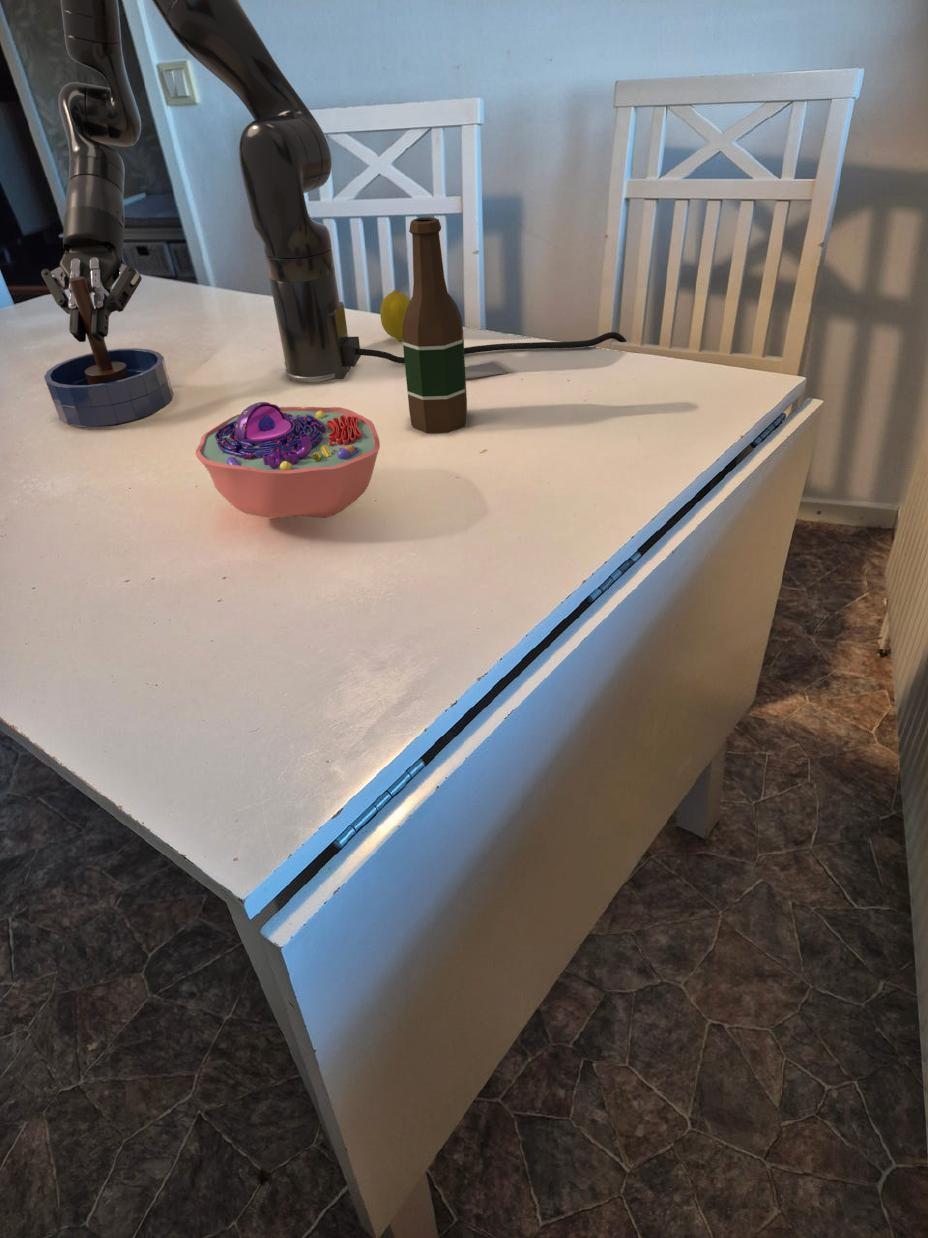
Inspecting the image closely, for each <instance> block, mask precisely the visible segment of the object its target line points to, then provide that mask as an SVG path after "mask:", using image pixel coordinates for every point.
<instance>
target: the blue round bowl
mask: <svg viewBox="0 0 928 1238" xmlns="http://www.w3.org/2000/svg"><path fill="white" fill-rule="evenodd" d="M107 350H108V353H109V356H110V359H111V362H123V363H125V364H126V366H127V369H128V373H129V378H126V379H122V380H118V381H113V382H108V383H102V384H94V385H90V384H89V383H88V381H87V378H86V375H85V370H86V369H87V368H89V367H91V366H93V365H96V362H95V359H94V356H93V353H92V352H89V353H86V354H82V355H79V356H75V357H71V358H69V359H67V360H64V361H62V362H60V363H57V364H55V365H54V366H52V367H51V368H50V369H47V371H46V373H45V374H44V376H43V378H44V382H45V384H46V387H47V390H48V393H49V395H50V398H51V400H52V403H53V407H54V408H55V412H56V414H57V417H58V418H59V420H60V421H61V422H63V423H65V424H67V425H72V426H77V427H84V428H109V427H117V426H122V425H126V424H130V423H135V422H137V421H140V420H143V419H146V418H149V417H151V416H153V415H155V414H157V413H158V412H160V411H161V410H163V409H164V408H166V407H167V406H168V405H169V404H171V402H172V401H173V399H174V394H175V393H174V389H173V386H172V383H171V379H170V374H169V371H168V368H167V364H166V361H165V357H164V356H163V355H162V354H161V352H159V351H155V350H152V349H148V348H140V347H139V348H137V347H136V348H135V347H134V348H131V347H129V348H114V349H113V348H112V349H107Z"/></svg>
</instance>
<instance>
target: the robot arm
mask: <svg viewBox="0 0 928 1238" xmlns="http://www.w3.org/2000/svg"><path fill="white" fill-rule="evenodd" d="M151 1H152V3H153V4H154V6H155V8H156V10H157V11H158V13H159V14H160V16H161V17H162V19H163V21H164V22H165V25H166V26H167V27H168V29H169V30H170V32H171V33H172V35H173V36H174V38H175V39H176V40H177V42H178V43H179V44H180V45H181V46H182V47H183V48H184V50H186V52H187V53H189V54H190V55H191V56H192V57H193V58H194V59H195V60H196V61H197V62H199V63H200V64H201V65H202V66H203V67H204V68H206V69H207V70H208V72H210V73H211V74H212V75H214V77H216V78H217V79H219V80H220V81H221V82H222V83H223V84H224V85H226V86H227V88H228V89H230V90H231V91H232V92H233V93H234V94H235V95H236V96H237V98H239V100H240V101H241V103H242V104H243V105H244V107H245V108H246V109H247V110H248V112H249V114H250V115H251V117H252V118H253V120H252V121H251V122H249V123H248V124H246V126H245V127H244V128H243V130H242V132H241V134H240V137H239V138H240V139H239V145H238V158H239V168H240V171H241V176H242V183H243V186H244V190H245V194H246V198H247V202H248V207H249V211H250V215H251V219H252V223H253V227H254V229H255V232H256V233H257V235H258V237H259V239H260V241H261V243H262V245H263V251H264V254H265V255H264V256H265V260H266V266H267V273H268V277H269V282H270V289H271V294H272V299H273V305H274V311H275V315H276V322H277V326H278V331H279V332H278V333H279V336H280V343H281V349H282V353H283V359H284V365H285V371H286V373H285V374H286V377H287V379H288V380H289V381H292V382H295V383H300V384H320V383H326V382H331V381H336V380H344V379H345V377H346V376H347V374H348V373H349V371H350V370H351V368H352V367H355V366H356V365H357V363H358V362H359V360H360V359H361V357H362V356H363V357H364V356H365V357H374V358H382V359H384V360H388V361H390V362H393V363H396V364H401V365H402V364H403V365H405V361H404V356H398V355H394V354H393V353H390V352H387V351H382V350H377V349H368V348H361V345H360V337H359V336H349V334H348V326H347V318H346V312H345V311H346V310H345V304H344V302H343V301H340V298H339V297H340V296H339V290H338V283H337V282H338V281H337V275H336V267H335V261H334V253H333V246H332V240H331V234H330V233H331V232H330V230H329V228H328V226H327V225H326V224H324V223H322V222H318V221H315V220H314V219H312V217H311V216H310V214H309V210H308V207H307V203H306V198H305V194H307V193H310V192H313V191H316V190H318V189H320V188H321V187H323V186H324V185H325V184H326V183H327V182H328V180H329V178H330V176H331V173H332V168H333V167H332V166H333V164H332V163H333V162H332V161H333V160H332V153H331V149H330V145H329V142H328V139H327V137H326V135H325V132H324V131H323V128H322V127H321V126H320V124H319V122H318V120H317V119H316V118H315V116H314V115H313V113H312V112H311V110H310V109H309V108H308V107H307V106H306V104H305V102H304V101H303V99H302V98H301V96H299V94H298V93H297V91H296V90H295V89H294V87H293V86H292V84H291V83H290V82H289V81H288V79H287V78H286V75H285V74H284V73H283V72H282V70H281V69H280V67H279V66H278V64H277V63H276V60H274V58H273V56H272V55H271V53H270V50H268V47H267V46H266V45H265V43H264V41H263V40H262V37H261V36H260V35H259V33H258V31H257V30H256V28H255V27H254V25H253V23H252V21H251V20H250V18H249V17H248V15H247V13H246V11H245V10H244V9H243V7H242V5H241V3H240V2H239V0H151ZM60 9H61V17H62V25H63V27H62V28H63V32H64V33H63V35H64V43H65V49H66V52H67V55H68V56H69V57H70V59H71V60H73V62H75V63H78V64H80V65H82V66H83V67H87V68H89V69H91V70H93V71H95V72H97V73H99V74H100V75H101V76H102V77H103V78H104V80H105V81H106V82H107V84H108V86H109V87H106V86H101V85H97V84H88V83H85V82H77V81H70V82H68V83H67V84H65V85H64V86H63V87H62V88H61V90H60V91H59V94H58V101H57V102H58V103H57V105H58V111H59V115H60V119H61V123H62V126H63V129H64V133H65V136H66V140H67V146H68V154H69V156H68V157H69V165H68V166H69V167H68V181H67V183H68V184H67V190H66V194H65V200H64V203H65V204H64V218H63V219H64V220H63V234H62V248H63V255H62V258H61V259H60V260H59V266H57V267H56V268H54V269H53V270H51V271H50V270H49V269H48V268H43V269H42V271H41V272H40V275H41V277H42V279H43V280H44V283H45V284H46V286H47V288H48V290H49V292H50V294H51V296H52V298H53V300H54V302H55V303H56V305H58V307H60V308H61V309H62V310H63V311H64V312H65V314H67V315H69V326H68V327H69V328H68V330H69V334H71V335H72V336H73V338H74V339H75V340H77V341H78V342H79V343H85V342H86V341H87V334H86V331H85V328H84V325H83V322H82V319H81V316H80V313H79V309H78V306H77V303H76V300H75V297H74V294H73V291H72V288H71V285H70V282H69V281H68V291H69V297H68V295H67V293H66V291H65V289H64V287H66V284H65V283H66V282H65V277H66V279H68V280H69V279H70V278H73V277H85V279H86V283H87V286H88V289H89V292H90V295H91V296H92V293H93V305H94V308H95V309H92V329H91V333H92V336H93V337H94V338H95V339H96V340H97V341H104V340H105V338H107V337H108V334H109V327H110V326H109V325H110V324H109V323H110V316H111V315H112V313H115V312H116V311H117V312H118V313H121V312H123V311H124V310H125V308H126V307H127V305H128V303H129V302H130V300H131V298H132V296H133V295H134V293H135V292H136V290H137V288H138V287H139V285H140V283H141V282H142V280H143V277H142V275H140V273H139V271H138V270H137V269H136V267H135V266H134V265H132V264H127V265H126V264H125V262H124V261H123V256H124V238H125V237H124V236H125V225H126V215H125V214H126V210H125V201H124V200H125V199H124V195H125V175H126V173H125V172H126V171H125V164H124V161H123V158H122V156H121V155H120V154H119V153H118V152H117V151H116V150H114V149H113V148H112V147H110V146H116V147H121V148H122V147H123V148H130V147H133V146H135V145H136V143H137V142H138V141H139V139H140V136H141V133H142V119H141V115H140V112H139V107H138V104H137V102H136V99H135V96H134V93H133V89H132V87H131V83H130V79H129V77H128V72H127V69H126V64H125V59H124V55H123V45H122V34H121V33H122V32H121V21H120V20H121V19H120V7H119V0H60ZM108 145H109V146H108ZM611 339H613V340H616V341H617V342H619V343H626V342H627V339H626V338H625V337H624V336H623V334H621V333H619V332H615V331H610V332H606V333H603V334H601V335H599V336H597V337H594V338H591V339H587V340H586V339H585V340H573V341H537V342H535V341H534V342H533V341H532V342H507V343H493V344H492V343H491V344H483V345H475V346H474V345H473V346H467V347H464V355H469V354H477V353H485V352H495V351H511V350H543V349H546V350H547V349H579V348H589V347H593V346H596V345H599V344H601V343H603V342H605V341H608V340H611Z"/></svg>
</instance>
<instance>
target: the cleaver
mask: <svg viewBox="0 0 928 1238" xmlns="http://www.w3.org/2000/svg"><path fill="white" fill-rule="evenodd" d="M509 373H510V372H509V371H508V370H506V369H505V368H503V367H502V366H501V365H499V364H498V363H496V362H494V361H491V362H485V363H479V364H473V365H467V366H465V374H466V380H467V379H474V378H480V377H481V378H482V377H489V376H495V375H502V374H509Z"/></svg>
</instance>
